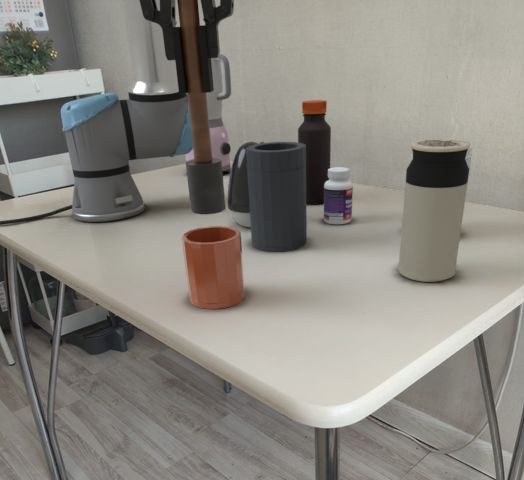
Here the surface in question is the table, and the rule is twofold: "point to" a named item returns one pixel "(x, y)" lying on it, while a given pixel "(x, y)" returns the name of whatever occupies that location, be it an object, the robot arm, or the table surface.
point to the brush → (199, 120)
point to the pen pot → (214, 266)
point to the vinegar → (315, 148)
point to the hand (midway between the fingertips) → (196, 91)
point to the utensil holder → (277, 195)
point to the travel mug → (433, 209)
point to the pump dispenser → (239, 187)
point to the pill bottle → (338, 196)
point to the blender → (218, 112)
